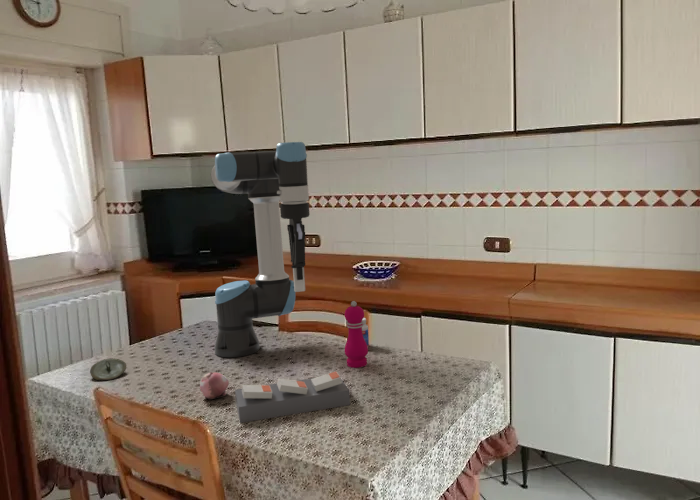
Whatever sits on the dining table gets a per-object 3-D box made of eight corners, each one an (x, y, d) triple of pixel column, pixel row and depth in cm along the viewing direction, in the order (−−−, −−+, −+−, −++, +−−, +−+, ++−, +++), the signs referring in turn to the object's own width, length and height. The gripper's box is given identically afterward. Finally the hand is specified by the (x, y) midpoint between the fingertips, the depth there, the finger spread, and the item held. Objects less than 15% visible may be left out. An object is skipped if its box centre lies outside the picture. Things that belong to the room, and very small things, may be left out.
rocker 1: (241, 390, 149) (242, 384, 149) (269, 391, 151) (269, 384, 151) (243, 398, 144) (244, 391, 144) (271, 398, 146) (272, 391, 146)
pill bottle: (360, 350, 193) (358, 322, 192) (349, 347, 197) (348, 319, 196) (372, 346, 197) (371, 318, 195) (362, 343, 201) (360, 315, 199)
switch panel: (236, 404, 155) (234, 388, 154) (338, 388, 162) (337, 373, 161) (239, 422, 143) (238, 406, 143) (350, 404, 150) (349, 389, 150)
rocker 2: (276, 384, 151) (278, 377, 151) (302, 387, 153) (304, 381, 153) (279, 391, 146) (281, 384, 146) (306, 394, 148) (308, 388, 148)
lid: (126, 367, 189) (125, 352, 188) (127, 377, 180) (125, 361, 179) (91, 373, 185) (89, 358, 184) (90, 384, 176) (88, 368, 175)
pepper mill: (355, 359, 185) (351, 297, 182) (373, 363, 181) (370, 299, 178) (340, 365, 180) (336, 302, 177) (358, 370, 175) (355, 305, 172)
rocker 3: (312, 384, 154) (310, 378, 153) (337, 376, 155) (335, 370, 155) (316, 391, 149) (314, 385, 149) (342, 383, 151) (340, 376, 150)
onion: (197, 402, 160) (192, 376, 161) (221, 396, 165) (217, 370, 166) (211, 400, 154) (207, 372, 155) (236, 393, 160) (232, 367, 161)
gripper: (276, 201, 157) (282, 287, 161) (283, 205, 145) (289, 298, 149) (304, 199, 159) (309, 284, 163) (313, 203, 147) (318, 294, 151)
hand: (299, 290), depth 156 cm, fingers closed
